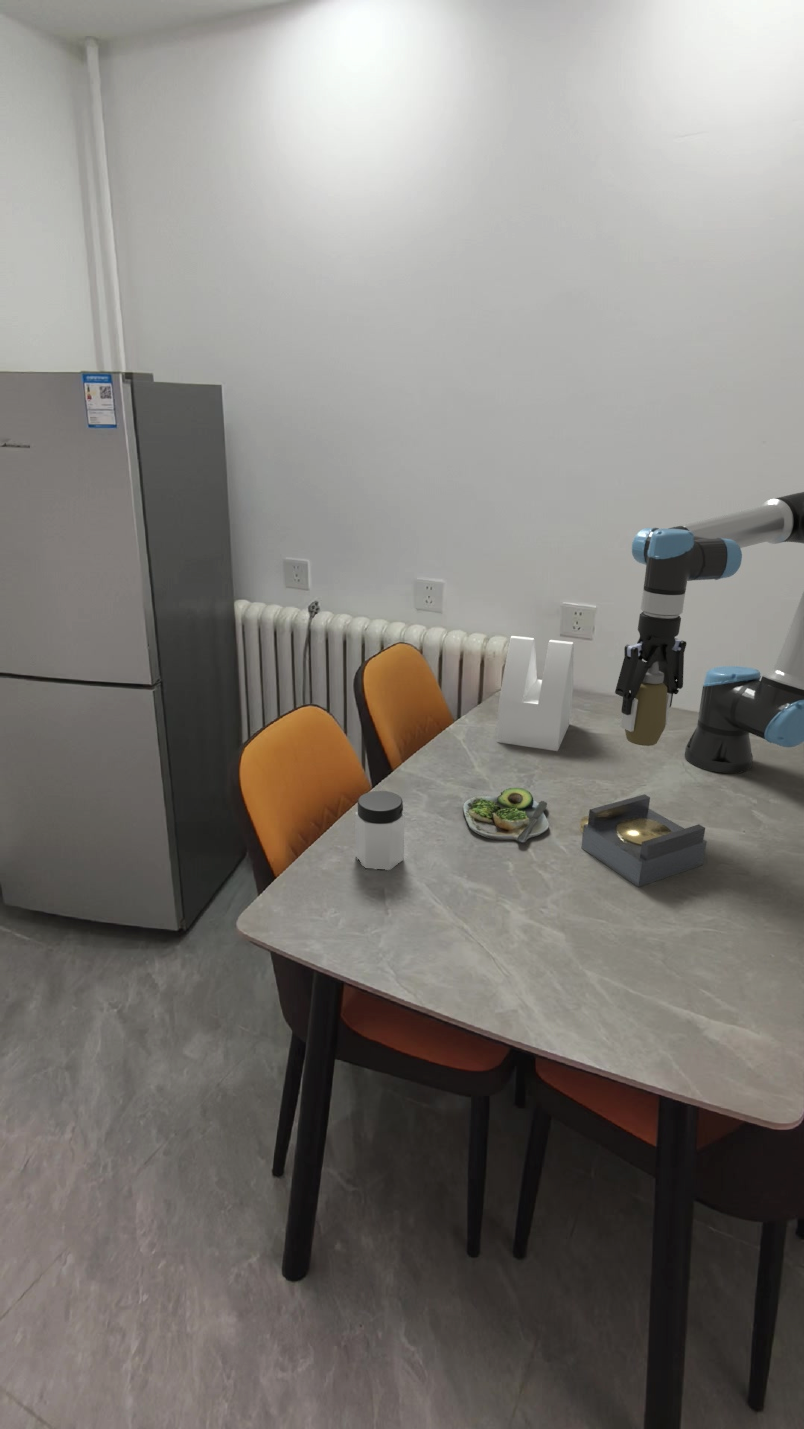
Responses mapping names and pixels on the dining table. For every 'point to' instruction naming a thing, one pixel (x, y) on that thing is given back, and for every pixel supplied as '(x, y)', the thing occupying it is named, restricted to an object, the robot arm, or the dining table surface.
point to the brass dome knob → (583, 823)
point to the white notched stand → (535, 695)
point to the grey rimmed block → (641, 841)
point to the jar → (379, 830)
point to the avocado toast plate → (507, 815)
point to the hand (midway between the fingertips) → (644, 725)
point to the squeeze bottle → (650, 709)
